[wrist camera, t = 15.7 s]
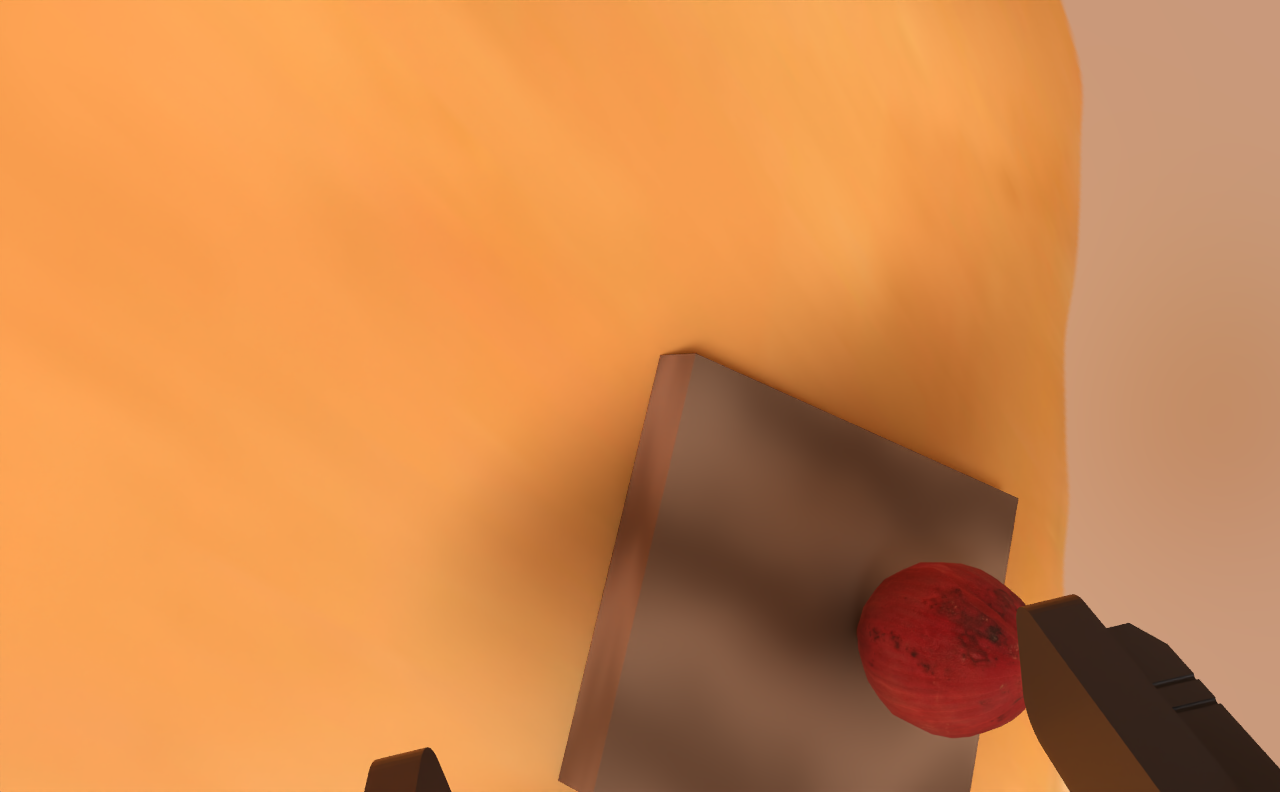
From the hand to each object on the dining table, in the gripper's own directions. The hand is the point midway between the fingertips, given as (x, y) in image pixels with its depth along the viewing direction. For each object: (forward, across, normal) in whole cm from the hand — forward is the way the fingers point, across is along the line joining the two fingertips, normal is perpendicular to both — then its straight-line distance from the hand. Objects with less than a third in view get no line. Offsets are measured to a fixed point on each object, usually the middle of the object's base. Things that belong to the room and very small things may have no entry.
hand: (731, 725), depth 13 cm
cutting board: (+21, -4, +15) cm, 26 cm away
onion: (+20, -5, +15) cm, 25 cm away
